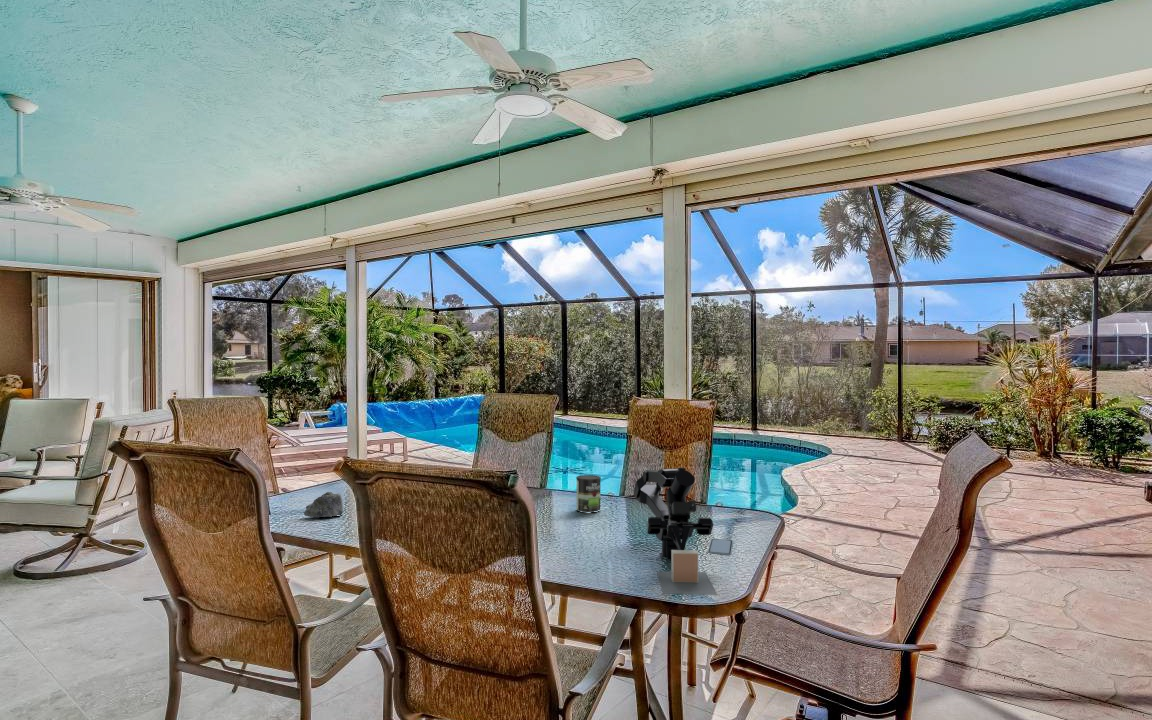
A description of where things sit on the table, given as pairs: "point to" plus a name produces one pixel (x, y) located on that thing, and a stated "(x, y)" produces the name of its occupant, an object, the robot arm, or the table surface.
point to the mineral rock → (325, 506)
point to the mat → (686, 585)
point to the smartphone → (720, 546)
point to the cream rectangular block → (684, 566)
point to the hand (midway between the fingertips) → (682, 552)
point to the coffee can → (588, 493)
